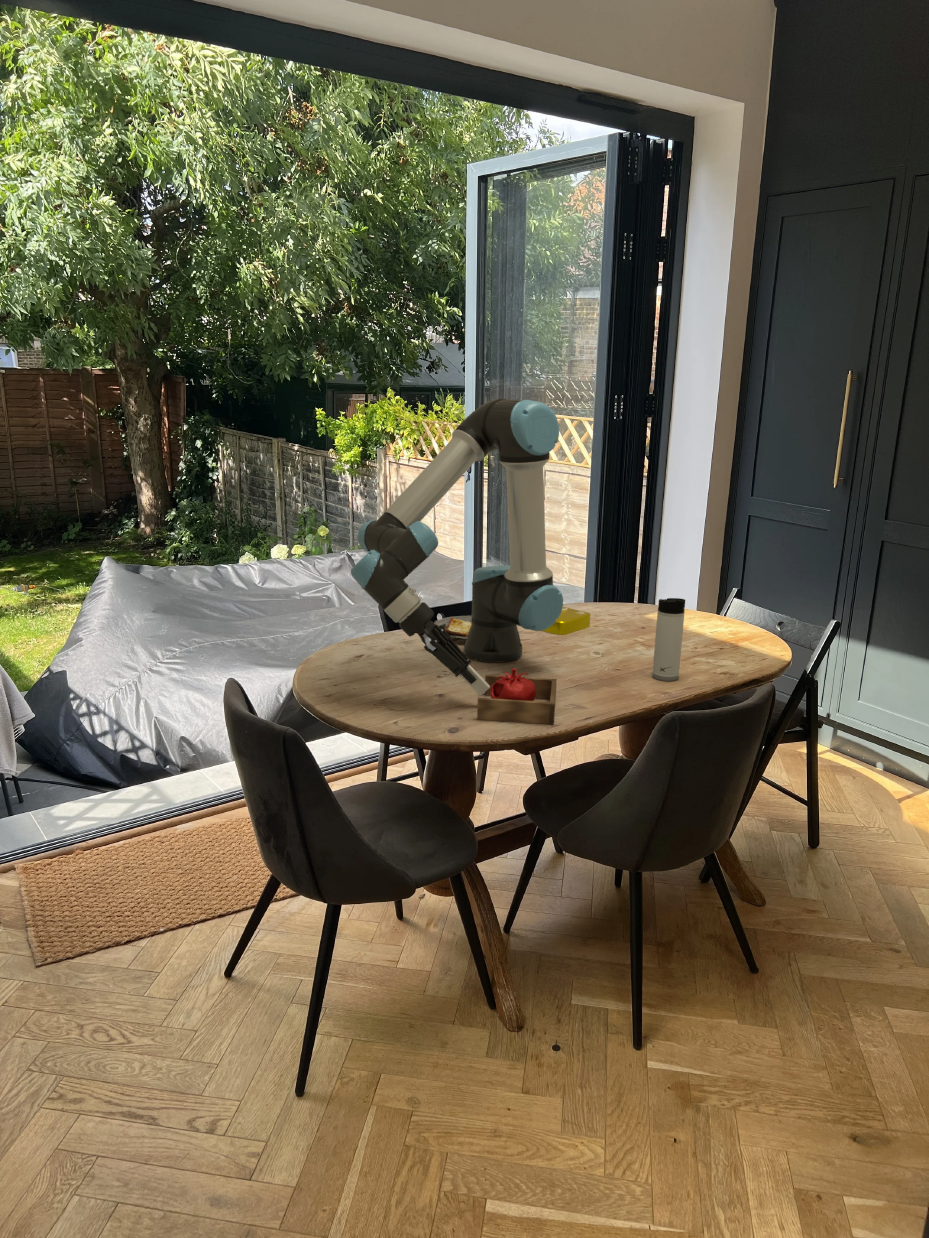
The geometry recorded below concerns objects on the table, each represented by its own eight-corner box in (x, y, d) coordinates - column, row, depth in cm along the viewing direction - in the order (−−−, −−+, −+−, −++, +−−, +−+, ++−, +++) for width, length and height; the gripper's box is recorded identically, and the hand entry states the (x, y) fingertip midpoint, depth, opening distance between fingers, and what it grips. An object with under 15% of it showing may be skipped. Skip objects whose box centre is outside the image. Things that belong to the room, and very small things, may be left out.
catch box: (477, 719, 186) (477, 699, 185) (484, 693, 201) (485, 674, 200) (553, 724, 184) (554, 704, 183) (555, 698, 199) (556, 679, 198)
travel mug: (664, 683, 211) (671, 601, 206) (646, 675, 216) (653, 595, 211) (684, 679, 214) (692, 599, 208) (666, 671, 219) (673, 593, 214)
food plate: (509, 648, 235) (509, 635, 234) (423, 643, 239) (423, 630, 238) (520, 626, 259) (520, 614, 258) (442, 621, 263) (442, 610, 262)
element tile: (520, 626, 258) (520, 610, 257) (551, 617, 268) (552, 602, 267) (561, 637, 248) (562, 621, 247) (592, 627, 259) (593, 611, 258)
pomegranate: (537, 703, 196) (540, 663, 194) (531, 719, 187) (534, 677, 185) (494, 698, 198) (496, 658, 196) (485, 713, 189) (487, 671, 187)
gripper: (416, 608, 183) (494, 690, 185) (427, 594, 195) (500, 670, 198) (391, 631, 185) (468, 712, 187) (403, 616, 197) (476, 691, 200)
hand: (485, 690), depth 192 cm, fingers closed
